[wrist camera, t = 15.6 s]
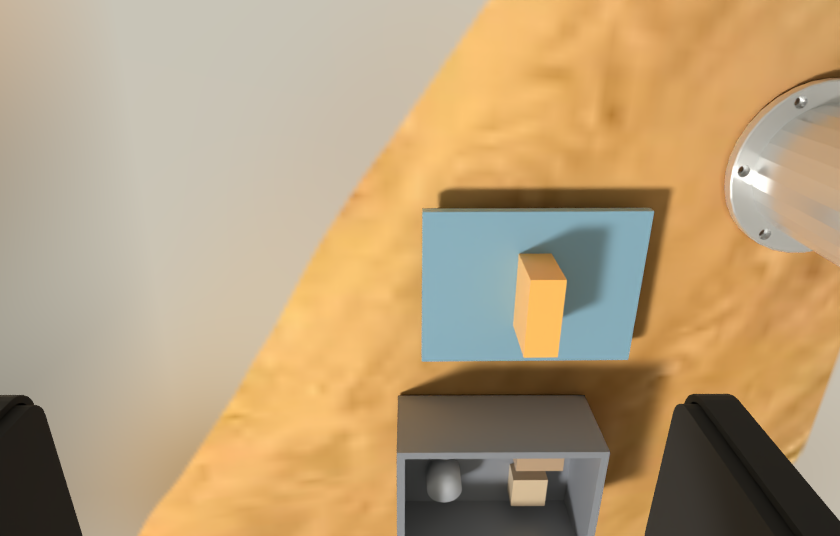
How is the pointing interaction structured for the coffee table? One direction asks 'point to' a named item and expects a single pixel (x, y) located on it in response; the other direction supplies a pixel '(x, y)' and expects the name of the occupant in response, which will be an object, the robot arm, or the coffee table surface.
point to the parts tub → (499, 466)
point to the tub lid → (531, 282)
